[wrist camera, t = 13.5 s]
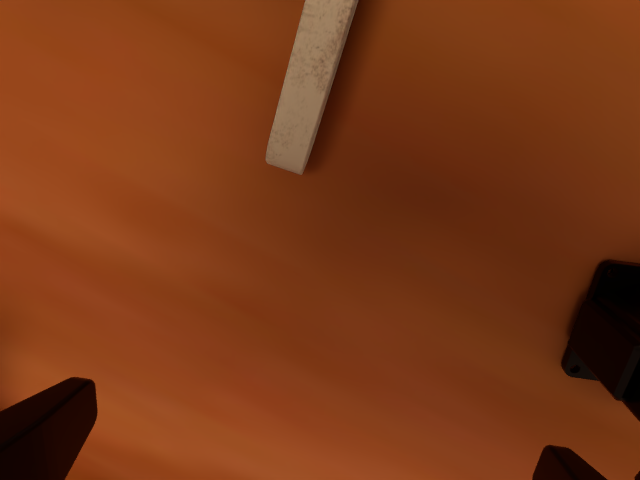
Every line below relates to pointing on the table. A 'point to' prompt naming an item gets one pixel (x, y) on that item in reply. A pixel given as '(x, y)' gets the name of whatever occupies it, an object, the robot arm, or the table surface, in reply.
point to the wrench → (308, 81)
